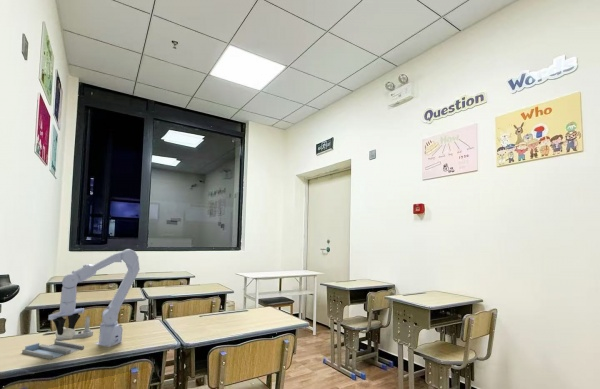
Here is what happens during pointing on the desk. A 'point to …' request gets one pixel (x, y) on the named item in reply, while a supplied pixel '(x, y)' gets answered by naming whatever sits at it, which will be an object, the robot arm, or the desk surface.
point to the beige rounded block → (66, 333)
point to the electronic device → (80, 334)
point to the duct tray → (51, 349)
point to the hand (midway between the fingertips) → (65, 333)
